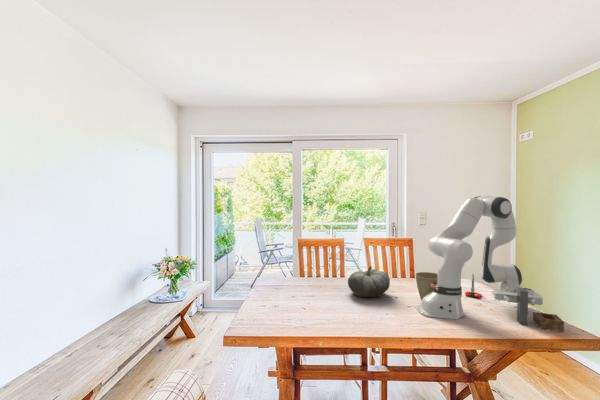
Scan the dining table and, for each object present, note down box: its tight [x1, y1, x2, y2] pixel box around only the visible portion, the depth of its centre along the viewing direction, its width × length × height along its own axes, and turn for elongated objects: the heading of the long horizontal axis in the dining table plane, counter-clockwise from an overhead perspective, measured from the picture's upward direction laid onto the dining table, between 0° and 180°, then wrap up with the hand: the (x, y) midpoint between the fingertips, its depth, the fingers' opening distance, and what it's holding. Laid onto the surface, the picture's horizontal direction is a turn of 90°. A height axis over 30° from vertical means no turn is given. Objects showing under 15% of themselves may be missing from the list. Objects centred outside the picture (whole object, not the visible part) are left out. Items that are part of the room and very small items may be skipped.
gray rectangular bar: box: [516, 287, 529, 326], centre depth 146 cm, size 3×5×16 cm, turn 157°
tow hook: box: [464, 273, 483, 299], centre depth 186 cm, size 9×14×10 cm
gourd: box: [347, 266, 391, 298], centre depth 186 cm, size 25×25×17 cm
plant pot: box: [415, 271, 437, 302], centre depth 172 cm, size 15×15×16 cm
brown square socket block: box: [532, 311, 565, 332], centre depth 142 cm, size 9×9×4 cm
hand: (521, 302), depth 147 cm, fingers open, 8 cm apart
